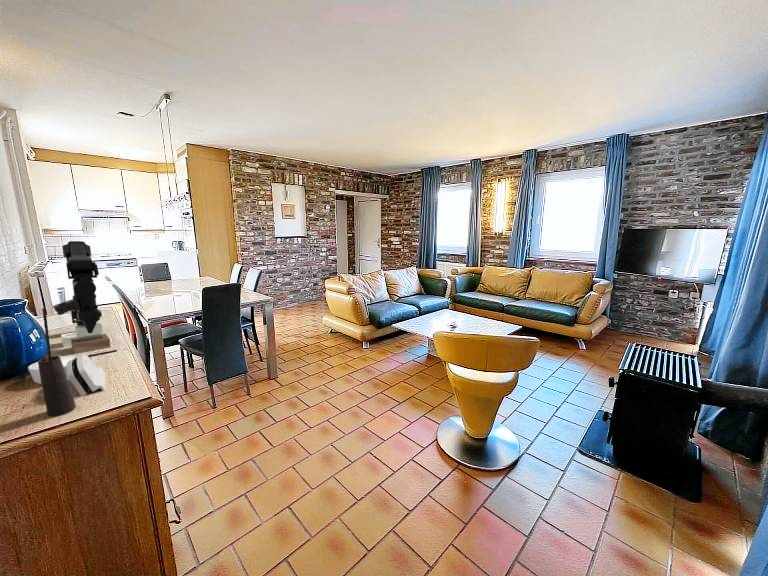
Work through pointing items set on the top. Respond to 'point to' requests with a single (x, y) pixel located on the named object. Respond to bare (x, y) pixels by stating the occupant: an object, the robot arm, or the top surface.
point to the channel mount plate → (91, 345)
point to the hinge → (85, 375)
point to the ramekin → (36, 374)
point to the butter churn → (54, 381)
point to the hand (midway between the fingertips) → (89, 332)
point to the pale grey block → (85, 336)
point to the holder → (68, 339)
